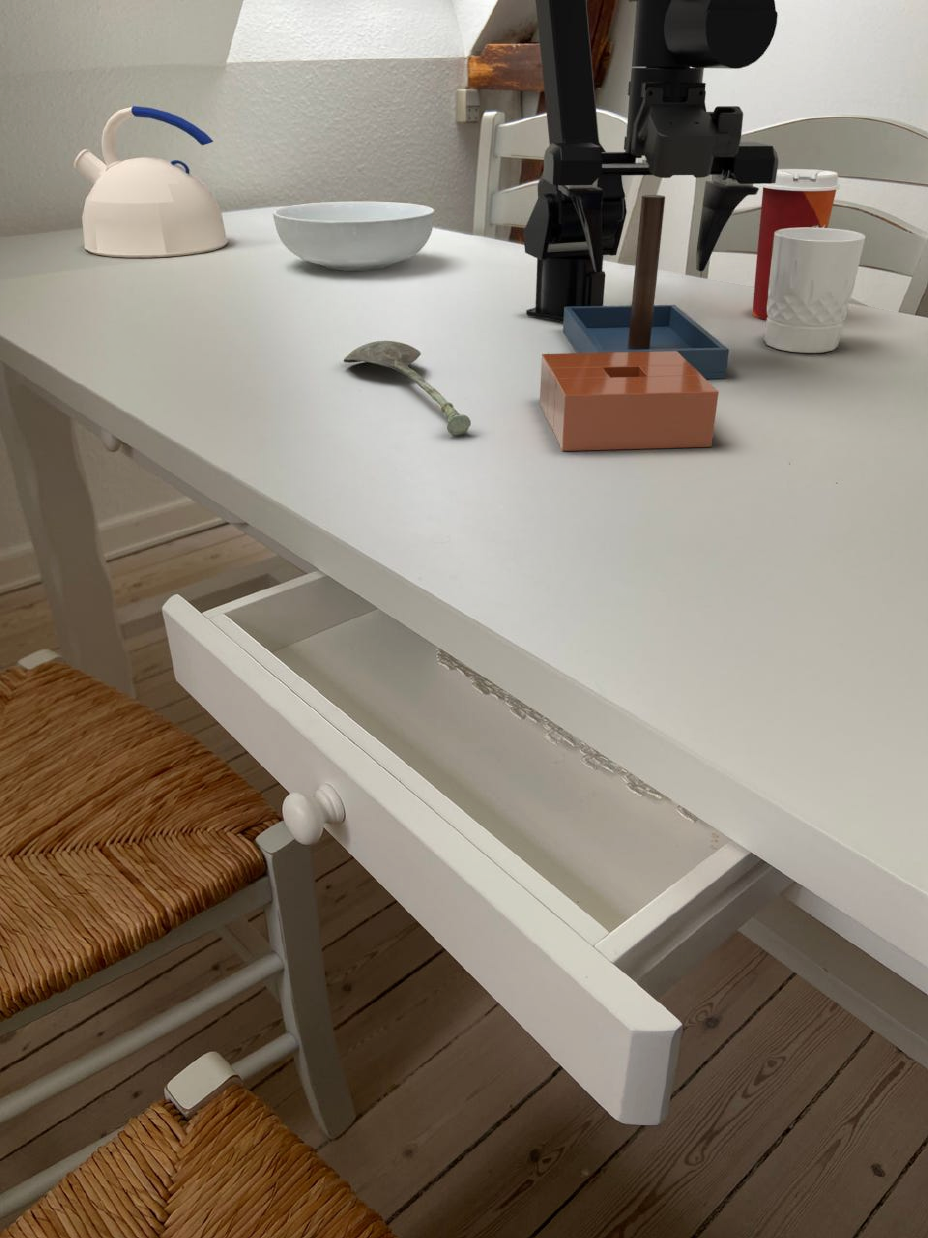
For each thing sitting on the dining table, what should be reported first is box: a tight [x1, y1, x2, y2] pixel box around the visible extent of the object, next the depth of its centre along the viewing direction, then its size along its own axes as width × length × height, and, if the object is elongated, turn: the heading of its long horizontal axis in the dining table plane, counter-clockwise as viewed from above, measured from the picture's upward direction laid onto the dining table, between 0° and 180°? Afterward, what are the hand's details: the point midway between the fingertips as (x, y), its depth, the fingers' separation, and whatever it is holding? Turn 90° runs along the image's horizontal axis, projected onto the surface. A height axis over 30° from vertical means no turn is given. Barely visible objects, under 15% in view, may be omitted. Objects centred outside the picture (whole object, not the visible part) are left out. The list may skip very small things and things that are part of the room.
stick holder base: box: [539, 351, 719, 452], centre depth 72 cm, size 11×11×4 cm
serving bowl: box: [272, 201, 436, 272], centre depth 127 cm, size 21×21×7 cm
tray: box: [562, 304, 730, 380], centre depth 89 cm, size 17×11×2 cm, turn 5°
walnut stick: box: [628, 194, 666, 350], centre depth 87 cm, size 2×2×13 cm
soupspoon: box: [343, 340, 472, 436], centre depth 78 cm, size 22×3×7 cm
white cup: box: [763, 227, 866, 354], centre depth 90 cm, size 8×8×10 cm
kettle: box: [73, 105, 229, 259], centre depth 137 cm, size 20×21×18 cm
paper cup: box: [752, 168, 841, 321], centre depth 100 cm, size 8×8×14 cm
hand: (648, 271), depth 85 cm, fingers open, 9 cm apart
